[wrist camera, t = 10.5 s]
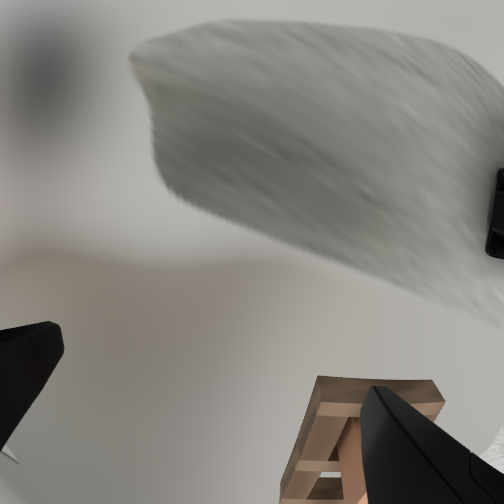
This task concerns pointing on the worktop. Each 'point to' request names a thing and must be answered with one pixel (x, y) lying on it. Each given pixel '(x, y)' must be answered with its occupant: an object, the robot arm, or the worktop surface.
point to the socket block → (329, 429)
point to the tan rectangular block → (352, 463)
